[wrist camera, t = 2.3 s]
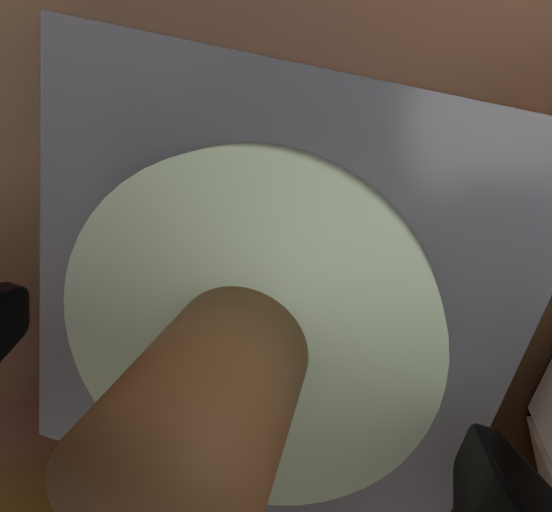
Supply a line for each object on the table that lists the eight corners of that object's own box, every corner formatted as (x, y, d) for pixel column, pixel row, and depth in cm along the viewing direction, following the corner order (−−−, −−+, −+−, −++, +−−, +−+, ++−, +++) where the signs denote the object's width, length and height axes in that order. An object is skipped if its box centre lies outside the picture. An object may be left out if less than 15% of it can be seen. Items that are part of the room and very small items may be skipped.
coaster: (607, 127, 9) (627, 131, 8) (421, 540, 13) (423, 568, 12) (66, 14, 10) (40, 8, 9) (57, 416, 14) (39, 434, 13)
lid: (500, 194, 9) (643, 324, 4) (383, 507, 11) (378, 804, 7) (104, 104, 10) (-174, 117, 5) (89, 410, 13) (-94, 605, 8)
